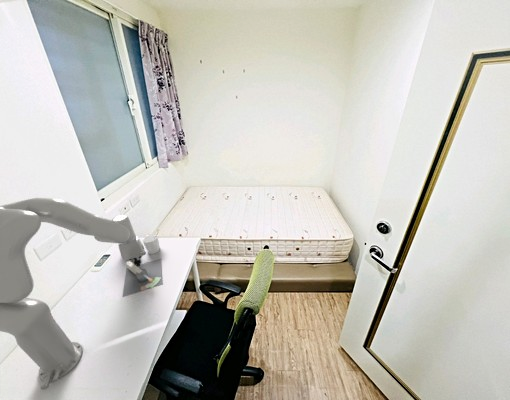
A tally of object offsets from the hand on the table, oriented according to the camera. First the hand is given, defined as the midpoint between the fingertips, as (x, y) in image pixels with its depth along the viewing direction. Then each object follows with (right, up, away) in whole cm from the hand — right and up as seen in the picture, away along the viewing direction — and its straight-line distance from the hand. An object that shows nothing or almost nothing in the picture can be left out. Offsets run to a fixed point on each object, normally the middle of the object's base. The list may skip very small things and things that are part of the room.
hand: (138, 264), depth 119 cm
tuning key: (+4, -5, -5) cm, 8 cm away
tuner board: (+5, -6, -4) cm, 8 cm away
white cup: (+2, +4, +14) cm, 15 cm away
